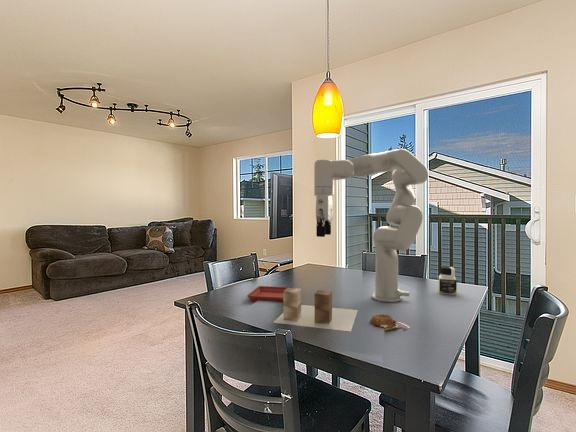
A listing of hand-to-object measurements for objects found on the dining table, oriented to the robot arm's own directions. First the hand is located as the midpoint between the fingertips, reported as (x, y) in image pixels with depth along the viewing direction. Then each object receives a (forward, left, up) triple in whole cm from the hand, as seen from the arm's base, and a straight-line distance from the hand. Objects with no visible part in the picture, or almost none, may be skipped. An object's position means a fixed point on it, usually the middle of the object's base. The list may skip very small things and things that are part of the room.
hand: (323, 235), depth 128 cm
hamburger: (-25, +13, -30) cm, 41 cm away
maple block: (+8, +18, -28) cm, 34 cm away
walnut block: (-3, +18, -28) cm, 33 cm away
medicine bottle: (-50, -41, -29) cm, 72 cm away
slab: (0, +13, -29) cm, 32 cm away
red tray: (+25, -8, -30) cm, 39 cm away
